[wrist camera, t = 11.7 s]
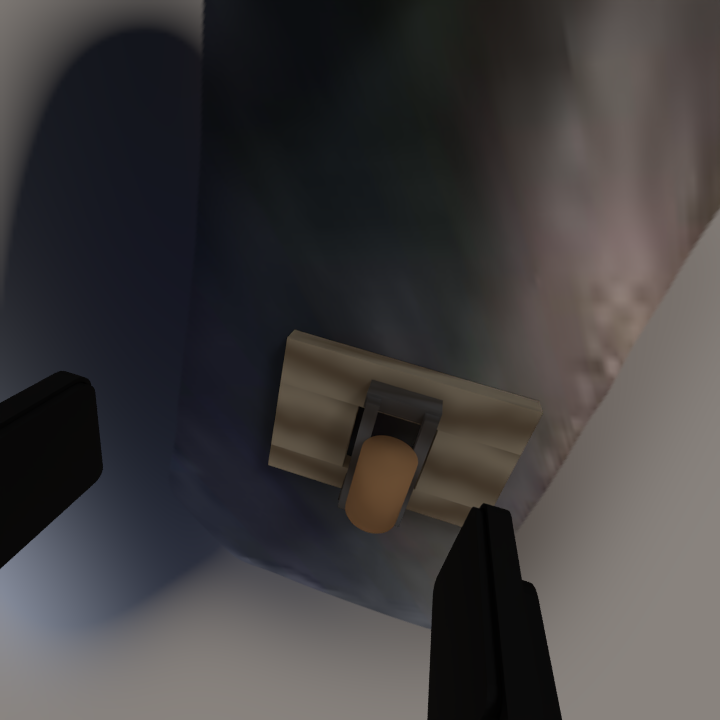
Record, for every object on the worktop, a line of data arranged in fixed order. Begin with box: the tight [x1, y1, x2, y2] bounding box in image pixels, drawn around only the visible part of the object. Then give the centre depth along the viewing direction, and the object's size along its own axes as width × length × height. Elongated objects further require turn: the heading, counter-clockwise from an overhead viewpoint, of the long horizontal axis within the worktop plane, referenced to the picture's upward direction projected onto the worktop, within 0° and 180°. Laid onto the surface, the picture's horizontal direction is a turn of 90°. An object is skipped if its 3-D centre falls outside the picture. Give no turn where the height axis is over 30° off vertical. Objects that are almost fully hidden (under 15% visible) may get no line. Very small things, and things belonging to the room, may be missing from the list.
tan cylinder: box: [345, 435, 418, 533], centre depth 37 cm, size 7×5×5 cm
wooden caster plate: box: [268, 330, 543, 527], centre depth 40 cm, size 16×24×6 cm, turn 77°
